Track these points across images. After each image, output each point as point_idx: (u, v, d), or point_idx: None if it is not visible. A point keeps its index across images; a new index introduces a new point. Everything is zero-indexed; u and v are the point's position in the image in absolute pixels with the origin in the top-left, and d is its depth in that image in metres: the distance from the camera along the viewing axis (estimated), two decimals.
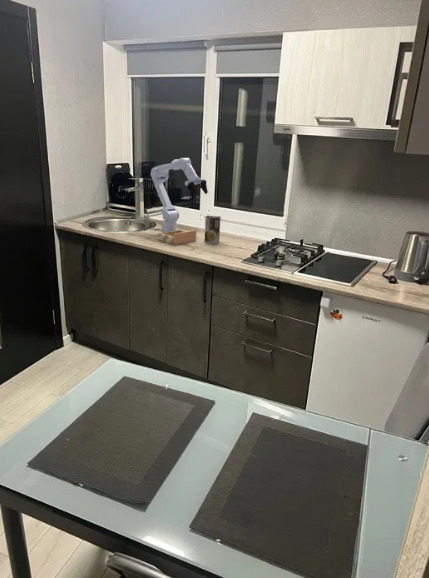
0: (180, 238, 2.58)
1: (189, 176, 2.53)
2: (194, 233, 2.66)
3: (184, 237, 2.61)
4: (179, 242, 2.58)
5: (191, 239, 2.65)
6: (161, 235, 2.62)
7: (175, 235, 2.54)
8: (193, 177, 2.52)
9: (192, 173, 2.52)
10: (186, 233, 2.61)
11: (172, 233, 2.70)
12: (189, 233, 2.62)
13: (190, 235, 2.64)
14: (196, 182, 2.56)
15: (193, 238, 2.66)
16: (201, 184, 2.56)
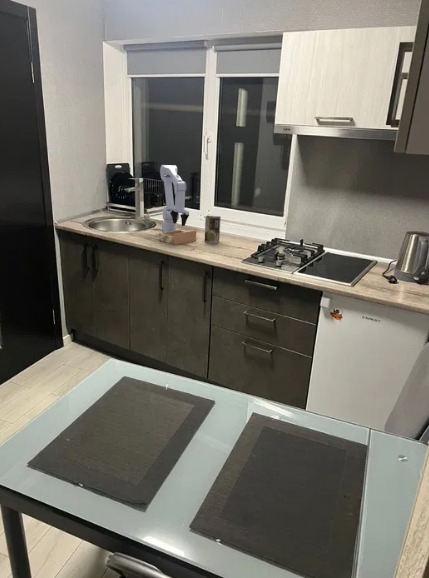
0: (180, 238, 2.58)
1: None
2: (194, 233, 2.66)
3: (184, 237, 2.61)
4: (179, 242, 2.58)
5: (191, 239, 2.65)
6: (161, 235, 2.62)
7: (175, 235, 2.54)
8: (175, 207, 2.58)
9: (175, 203, 2.57)
10: (186, 233, 2.61)
11: (172, 233, 2.70)
12: (189, 233, 2.62)
13: (190, 235, 2.64)
14: None
15: (193, 238, 2.66)
16: None
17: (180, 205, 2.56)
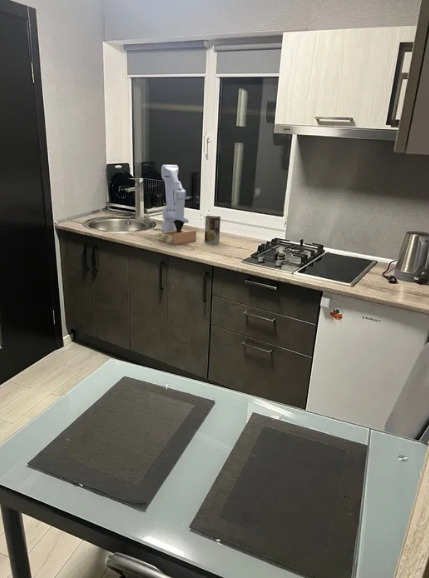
0: (180, 238, 2.58)
1: None
2: (194, 233, 2.66)
3: (184, 237, 2.61)
4: (179, 242, 2.58)
5: (191, 239, 2.65)
6: (161, 235, 2.62)
7: (175, 235, 2.54)
8: (174, 215, 2.60)
9: (175, 211, 2.59)
10: (186, 233, 2.61)
11: (172, 233, 2.70)
12: (189, 233, 2.62)
13: (190, 235, 2.64)
14: None
15: (193, 238, 2.66)
16: None
17: (180, 213, 2.57)
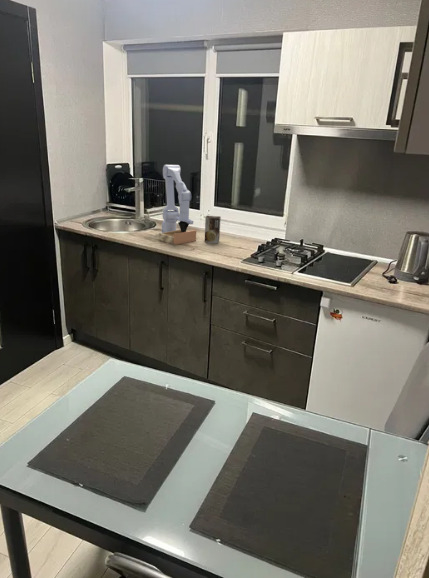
0: (180, 238, 2.58)
1: None
2: (194, 233, 2.66)
3: (184, 237, 2.61)
4: (179, 242, 2.58)
5: (191, 239, 2.65)
6: (161, 235, 2.62)
7: (175, 235, 2.54)
8: (179, 217, 2.58)
9: (179, 212, 2.56)
10: (186, 233, 2.61)
11: (172, 233, 2.70)
12: (189, 233, 2.62)
13: (190, 235, 2.64)
14: None
15: (193, 238, 2.66)
16: None
17: (184, 214, 2.55)
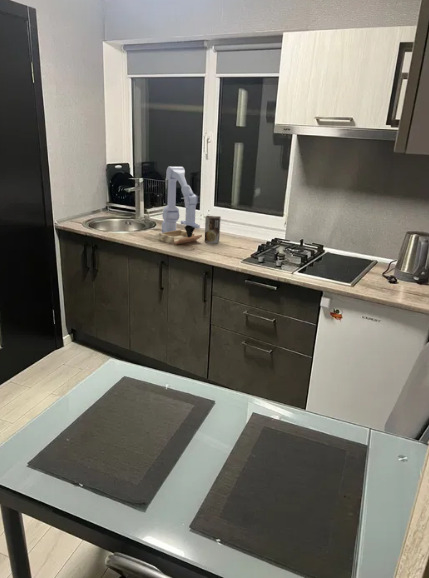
0: (183, 241, 2.57)
1: None
2: (198, 237, 2.64)
3: (187, 240, 2.59)
4: (180, 243, 2.58)
5: (192, 240, 2.65)
6: (161, 235, 2.62)
7: (180, 240, 2.52)
8: (185, 221, 2.55)
9: (186, 217, 2.53)
10: (191, 238, 2.59)
11: (172, 233, 2.70)
12: (194, 238, 2.61)
13: (193, 239, 2.62)
14: None
15: (194, 239, 2.66)
16: None
17: (191, 219, 2.52)
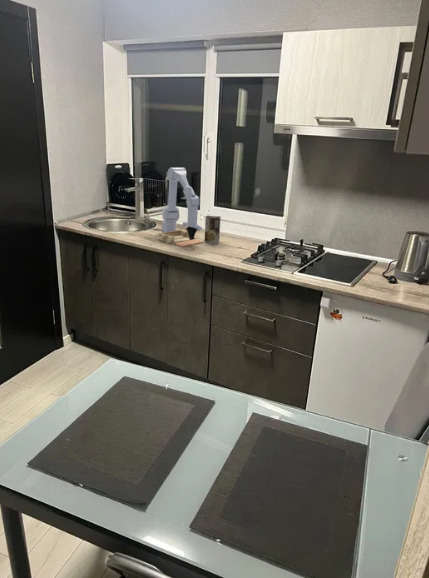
0: None
1: None
2: None
3: None
4: None
5: None
6: (161, 235, 2.62)
7: None
8: (187, 222, 2.54)
9: (188, 218, 2.52)
10: None
11: (172, 233, 2.70)
12: None
13: None
14: None
15: None
16: None
17: (193, 220, 2.51)
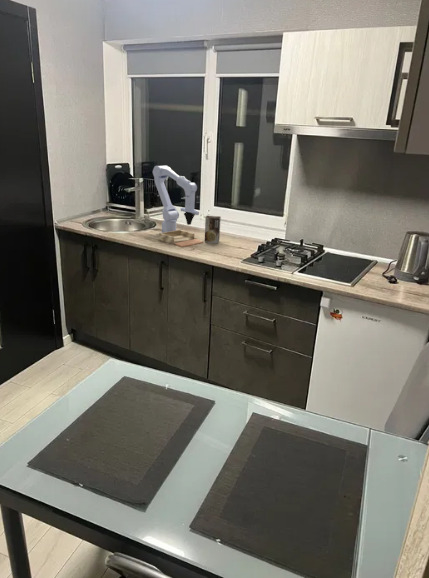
0: None
1: None
2: None
3: None
4: None
5: None
6: (161, 235, 2.62)
7: None
8: (185, 208, 2.65)
9: (185, 204, 2.64)
10: None
11: (172, 233, 2.70)
12: None
13: None
14: None
15: None
16: None
17: (190, 205, 2.63)
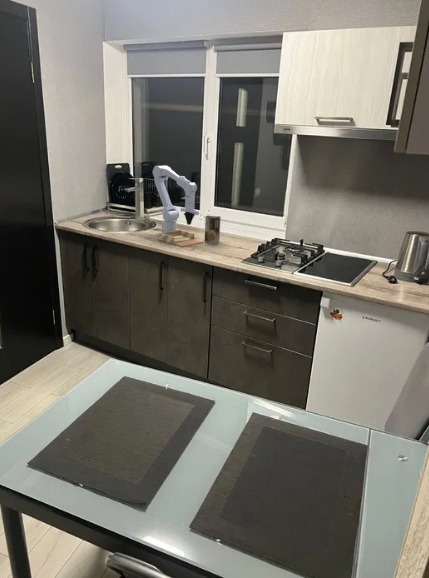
0: None
1: None
2: None
3: None
4: None
5: None
6: (161, 235, 2.62)
7: None
8: (185, 208, 2.65)
9: (185, 204, 2.64)
10: None
11: (172, 233, 2.70)
12: None
13: None
14: None
15: None
16: None
17: (190, 205, 2.63)
